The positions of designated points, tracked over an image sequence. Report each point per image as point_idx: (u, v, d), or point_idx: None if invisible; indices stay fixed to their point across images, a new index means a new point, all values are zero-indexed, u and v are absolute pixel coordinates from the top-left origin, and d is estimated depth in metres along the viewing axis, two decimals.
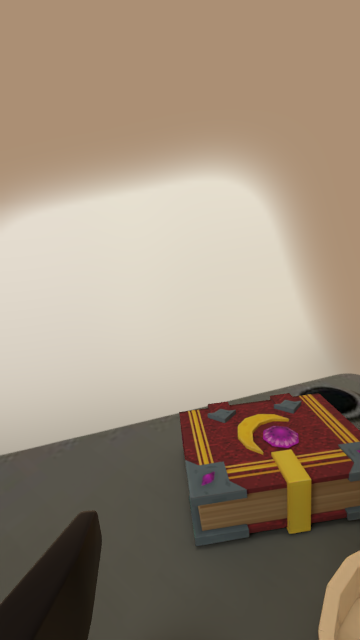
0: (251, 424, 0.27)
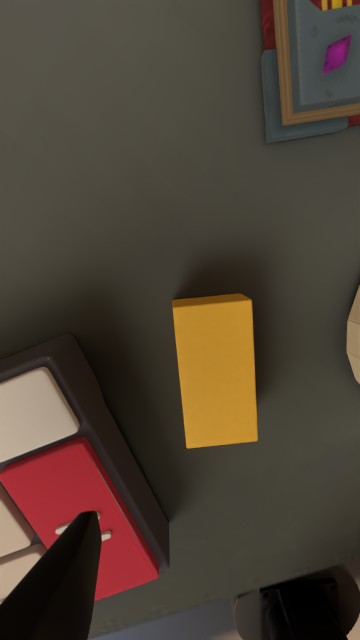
0: None
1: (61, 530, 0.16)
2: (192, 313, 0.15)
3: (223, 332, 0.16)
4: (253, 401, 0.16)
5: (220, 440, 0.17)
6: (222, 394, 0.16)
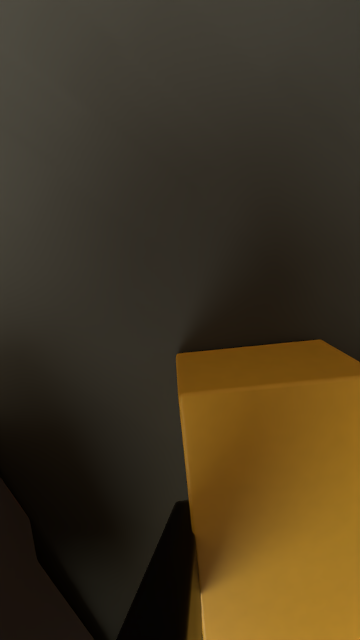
0: None
1: None
2: (230, 409, 0.06)
3: (305, 450, 0.06)
4: None
5: None
6: (293, 584, 0.07)
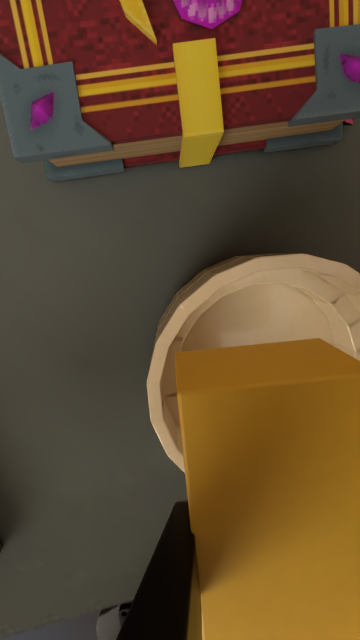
0: None
1: None
2: (229, 407, 0.06)
3: (304, 449, 0.06)
4: None
5: None
6: (292, 583, 0.07)
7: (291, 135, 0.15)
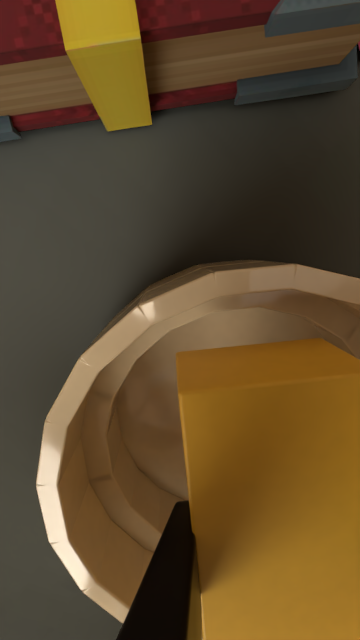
0: None
1: None
2: (230, 407, 0.06)
3: (306, 449, 0.06)
4: None
5: None
6: (292, 583, 0.07)
7: (276, 74, 0.10)
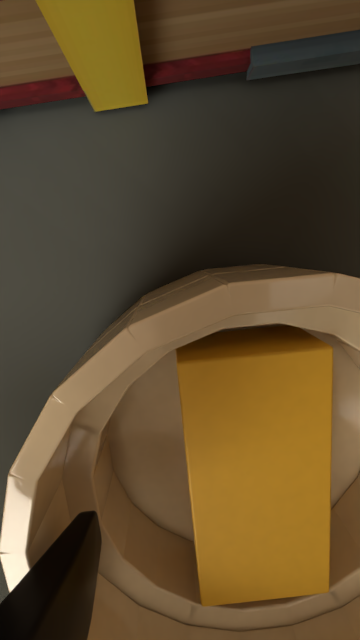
0: None
1: None
2: (216, 374, 0.08)
3: (276, 407, 0.08)
4: (326, 529, 0.09)
5: (263, 593, 0.09)
6: (268, 518, 0.09)
7: (298, 40, 0.08)
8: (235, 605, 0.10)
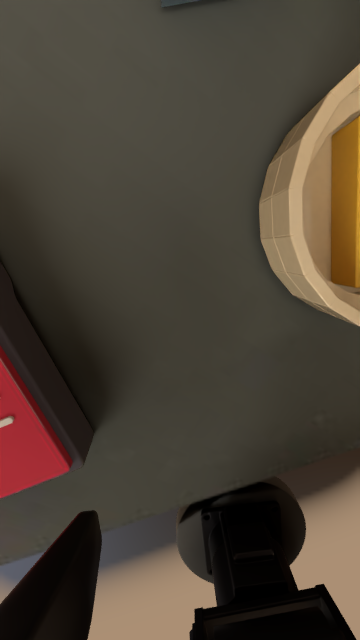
0: None
1: None
2: None
3: None
4: None
5: None
6: None
7: None
8: None
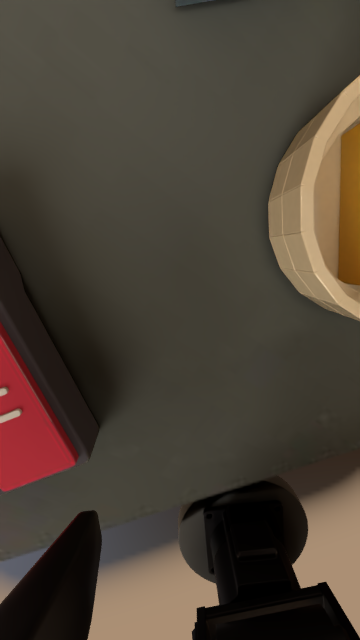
0: None
1: None
2: None
3: None
4: None
5: None
6: None
7: None
8: None
